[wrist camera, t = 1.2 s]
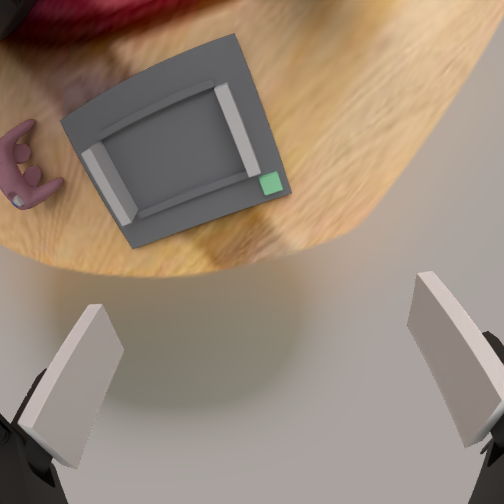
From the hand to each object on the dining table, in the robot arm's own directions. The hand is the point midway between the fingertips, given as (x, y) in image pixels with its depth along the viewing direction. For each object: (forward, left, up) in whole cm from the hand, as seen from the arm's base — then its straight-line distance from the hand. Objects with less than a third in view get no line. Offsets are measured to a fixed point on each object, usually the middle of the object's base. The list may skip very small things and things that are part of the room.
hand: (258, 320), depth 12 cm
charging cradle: (-3, -6, -23) cm, 24 cm away
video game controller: (-10, -23, -24) cm, 34 cm away
